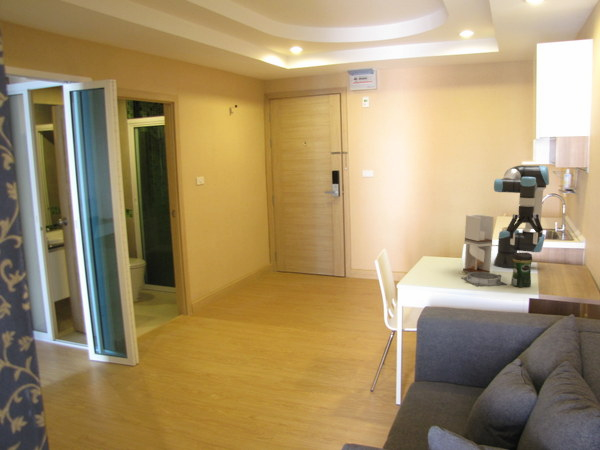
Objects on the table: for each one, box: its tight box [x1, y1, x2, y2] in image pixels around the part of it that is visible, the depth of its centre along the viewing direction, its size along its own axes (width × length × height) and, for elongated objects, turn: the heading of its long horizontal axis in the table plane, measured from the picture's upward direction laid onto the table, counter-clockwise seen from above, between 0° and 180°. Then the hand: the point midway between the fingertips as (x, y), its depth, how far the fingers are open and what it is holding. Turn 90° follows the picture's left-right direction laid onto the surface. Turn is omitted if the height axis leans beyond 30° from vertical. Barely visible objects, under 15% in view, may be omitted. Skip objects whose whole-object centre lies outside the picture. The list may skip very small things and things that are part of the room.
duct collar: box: [461, 272, 508, 287], centre depth 285 cm, size 21×18×4 cm
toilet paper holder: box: [462, 214, 495, 274], centre depth 303 cm, size 11×11×35 cm
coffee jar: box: [510, 252, 533, 288], centre depth 276 cm, size 10×8×19 cm
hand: (523, 244), depth 274 cm, fingers open, 13 cm apart
